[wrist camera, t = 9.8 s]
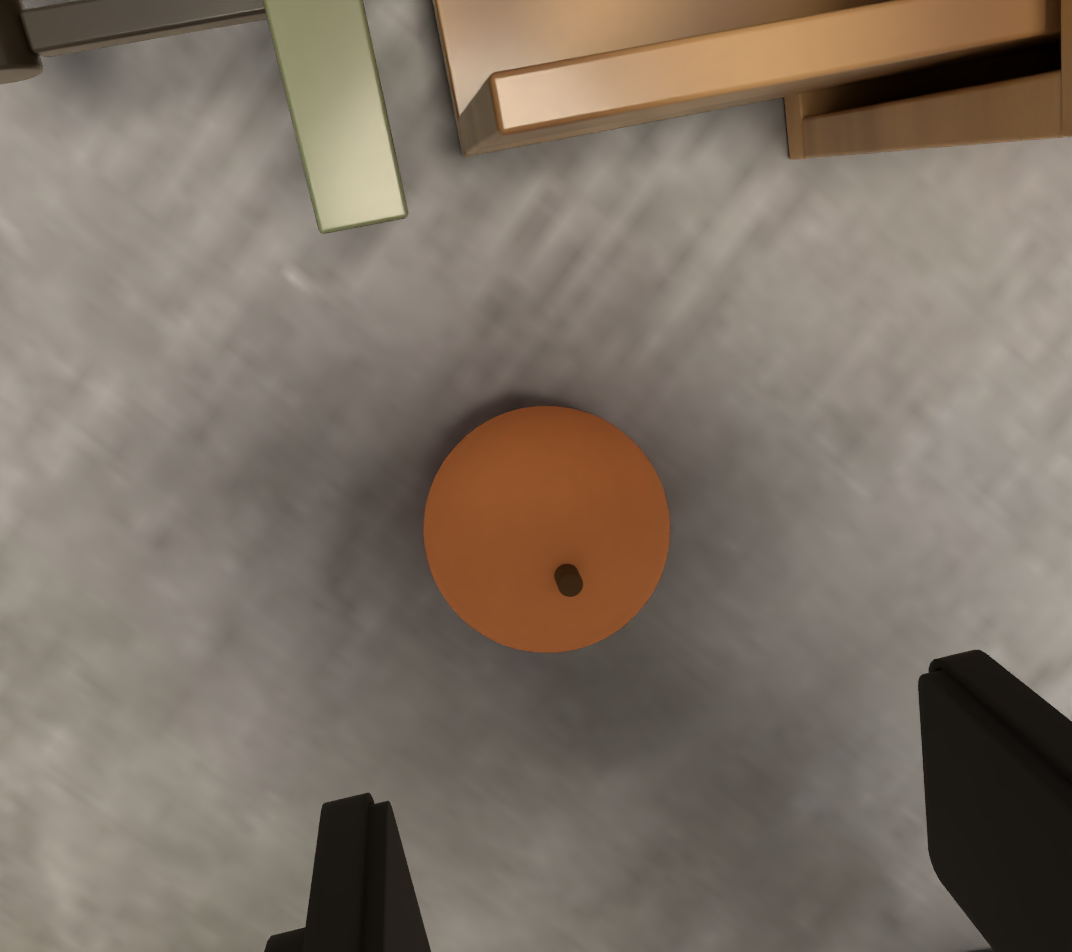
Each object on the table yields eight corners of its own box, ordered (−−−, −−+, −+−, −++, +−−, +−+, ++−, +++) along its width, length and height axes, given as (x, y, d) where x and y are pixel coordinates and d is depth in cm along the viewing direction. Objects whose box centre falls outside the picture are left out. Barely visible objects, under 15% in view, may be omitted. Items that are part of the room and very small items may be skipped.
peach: (519, 632, 25) (553, 764, 20) (374, 485, 24) (365, 581, 18) (679, 497, 25) (764, 590, 19) (544, 337, 23) (591, 386, 17)
